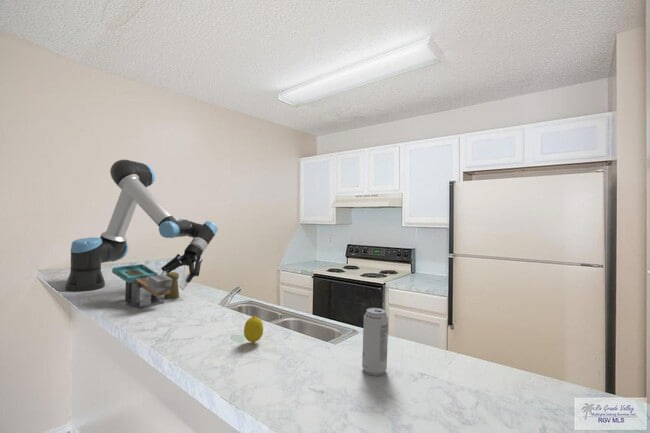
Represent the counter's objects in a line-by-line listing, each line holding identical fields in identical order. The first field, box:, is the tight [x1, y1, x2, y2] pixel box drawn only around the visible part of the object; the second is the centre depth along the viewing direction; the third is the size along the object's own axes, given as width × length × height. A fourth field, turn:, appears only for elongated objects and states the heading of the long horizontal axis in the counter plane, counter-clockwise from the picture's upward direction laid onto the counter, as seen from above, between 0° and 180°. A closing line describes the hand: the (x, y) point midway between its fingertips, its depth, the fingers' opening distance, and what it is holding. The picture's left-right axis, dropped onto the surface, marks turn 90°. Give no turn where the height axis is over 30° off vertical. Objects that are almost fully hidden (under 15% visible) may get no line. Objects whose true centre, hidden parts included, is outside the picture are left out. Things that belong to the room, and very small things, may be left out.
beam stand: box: [124, 281, 166, 310], centre depth 131 cm, size 10×16×9 cm, turn 59°
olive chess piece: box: [163, 271, 180, 300], centre depth 140 cm, size 6×6×11 cm
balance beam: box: [111, 264, 173, 297], centre depth 130 cm, size 12×27×7 cm, turn 59°
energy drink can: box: [361, 307, 389, 377], centre depth 79 cm, size 6×6×15 cm
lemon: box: [243, 315, 264, 344], centre depth 94 cm, size 6×6×8 cm
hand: (169, 286), depth 138 cm, fingers open, 13 cm apart
